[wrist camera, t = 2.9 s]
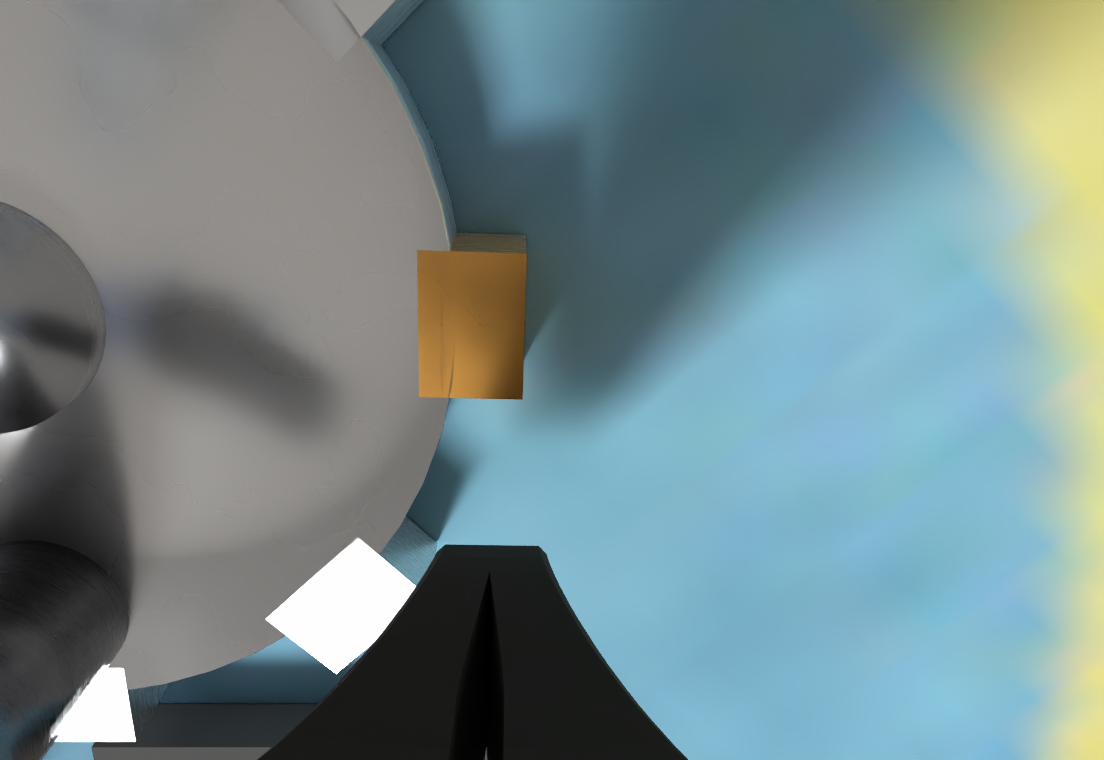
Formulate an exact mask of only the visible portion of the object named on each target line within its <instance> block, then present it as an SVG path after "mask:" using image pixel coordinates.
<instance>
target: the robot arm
mask: <svg viewBox="0 0 1104 760" xmlns="http://www.w3.org/2000/svg"><path fill="white" fill-rule="evenodd" d="M486 748H487V760H688V759H687V758H686V757H685V756H684V755H683V754H682V753H681V752H680V751H679V750H678V749H677V748H676V747H675V746H674V744H673V743H672V742H671V741H670V740H669V739H668V738H667V737H666V736H665V735H664V733H663V732H662V731H661V730H660V729H659V728H658V727H657V726H656V725H655V723H654V722H653V721H652V720H651V719H650V718H649V717H648V715H647V714H646V713H645V712H644V711H643V709H642V708H641V707H640V706H639V705H638V703H637V702H636V701H635V700H634V698H633V697H632V696H631V695H630V693H629V692H628V691H627V689H626V688H625V687H624V685H623V684H622V683H621V681H620V680H619V679H618V677H617V676H616V675H615V673H614V672H613V671H612V669H611V668H610V667H609V665H608V664H607V662H606V661H605V660H604V658H603V657H602V655H601V654H600V652H599V651H598V649H597V648H596V647H595V645H594V643H593V642H592V640H591V639H590V637H589V635H588V634H587V632H586V631H585V629H584V628H583V626H582V624H581V623H580V621H579V620H578V618H577V616H576V615H575V613H574V611H573V610H572V608H571V606H570V604H569V603H568V601H567V599H566V597H565V595H564V593H563V591H562V589H561V588H560V586H559V584H558V581H557V579H556V577H555V575H554V573H553V571H552V568H551V566H550V563H549V561H548V558H547V554H546V553H545V552H544V551H543V550H542V549H541V548H540V547H539V546H500V545H444V546H443V547H442V548H441V549H440V550H439V551H438V552H437V553H436V554H435V556H434V558H433V560H432V562H431V564H430V565H429V567H428V569H427V570H426V572H425V573H424V575H423V577H422V578H421V580H420V581H419V583H418V584H417V586H416V587H415V589H414V590H413V591H412V593H411V594H410V596H409V597H408V599H407V600H406V602H405V603H404V604H403V606H402V607H401V608H400V609H399V611H398V612H397V613H396V615H395V616H394V617H393V619H392V620H391V621H390V623H389V624H388V625H387V626H386V628H385V629H384V630H383V632H382V633H381V634H380V636H379V637H378V638H377V639H376V640H375V642H374V643H373V644H372V645H371V646H370V648H369V649H368V650H367V651H366V652H365V653H364V654H363V656H362V657H361V658H360V659H359V660H358V661H357V662H356V663H355V665H354V666H353V667H352V668H351V669H350V670H349V671H348V673H347V674H346V675H345V676H344V677H343V678H342V679H341V680H340V682H339V683H338V684H337V685H336V686H335V687H334V688H333V689H332V690H331V691H330V692H329V693H328V694H327V695H326V696H325V697H324V698H323V699H322V700H321V701H320V702H319V703H318V704H317V705H316V706H315V707H314V708H313V709H312V710H311V711H310V712H309V713H308V714H307V715H306V716H305V717H304V718H303V719H302V720H301V721H300V722H299V723H298V724H297V725H296V726H295V727H293V728H292V729H291V730H290V731H289V732H288V733H287V734H286V735H285V736H284V737H283V738H282V739H281V740H279V741H278V742H277V743H276V744H275V745H274V746H273V747H271V748H270V749H269V750H268V751H267V752H266V753H264V754H263V755H262V756H261V757H260V758H258V759H257V760H485V754H486Z"/></svg>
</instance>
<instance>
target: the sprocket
mask: <svg viewBox="0 0 1104 760" xmlns="http://www.w3.org/2000/svg"><path fill="white" fill-rule="evenodd" d="M422 1H423V0H0V760H42V759H43V757H44V756H45V754H46V753H47V752H48V750H49V749H50V747H51V746H52V745H53V743H54V742H136V740H137V738H138V737H139V735H140V733H141V732H142V730H143V728H144V726H145V725H146V723H147V721H148V720H149V718H150V716H151V715H152V713H153V711H154V709H155V708H156V706H157V704H158V703H159V701H160V699H161V698H162V696H163V694H164V693H165V691H166V689H167V687H168V686H169V684H170V682H174V681H177V680H181V679H184V678H188V677H192V676H195V675H199V674H203V673H206V672H210V671H213V670H215V669H218V668H220V667H222V666H225V665H227V664H230V663H232V662H235V661H237V660H239V659H242V658H244V657H247V656H249V655H252V654H254V653H256V652H258V651H260V650H262V649H263V648H265V647H267V646H269V645H270V644H272V643H274V642H276V641H278V640H279V639H281V638H283V637H285V636H286V635H287V636H288V637H289V638H291V639H292V640H293V641H294V642H296V643H297V644H298V645H300V646H301V647H302V648H303V649H305V650H306V651H307V652H309V653H310V654H311V655H312V656H314V657H315V658H316V659H318V660H319V661H320V662H321V663H323V664H324V665H325V666H327V667H328V668H329V669H330V670H332V671H333V672H334V673H336V674H337V673H338V672H339V671H340V670H341V669H343V668H344V667H345V666H346V665H347V664H349V663H350V662H351V661H352V660H353V659H354V658H356V657H357V656H358V655H359V654H360V653H362V652H363V651H364V650H365V649H366V648H367V647H369V646H370V645H371V644H372V643H373V642H375V640H376V639H377V638H378V637H379V636H380V634H381V633H382V632H383V630H384V629H385V628H386V626H387V625H388V624H389V623H390V621H391V620H392V619H393V617H394V616H395V615H396V613H397V612H398V611H399V609H400V608H401V607H402V606H403V604H404V603H405V602H406V600H407V599H408V597H409V596H410V594H411V593H412V591H413V590H414V589H415V587H416V586H417V584H418V583H419V581H420V580H421V578H422V577H423V575H424V573H425V572H426V570H427V569H428V567H429V565H430V564H431V562H432V560H433V558H434V556H435V553H436V547H437V543H436V542H435V541H434V540H433V539H431V538H430V537H429V536H428V535H427V534H426V533H425V532H424V531H422V530H421V529H420V528H419V527H418V526H417V525H416V524H414V523H413V522H412V521H411V520H410V519H409V518H408V517H406V514H407V512H408V511H409V509H410V507H411V505H412V503H413V501H414V500H415V498H416V496H417V494H418V492H419V490H420V489H421V487H422V485H423V483H424V480H425V478H426V475H427V472H428V469H429V467H430V464H431V461H432V459H433V456H434V453H435V451H436V448H437V445H438V442H439V440H440V437H441V434H442V429H443V425H444V420H445V416H446V411H447V406H448V402H449V398H481V399H522V396H523V365H524V333H525V301H526V270H527V247H526V235H517V234H488V233H460V232H457V229H456V224H455V219H454V214H453V209H452V204H451V199H450V194H449V190H448V187H447V184H446V181H445V178H444V175H443V172H442V169H441V166H440V163H439V160H438V157H437V154H436V151H435V148H434V145H433V142H432V139H431V137H430V135H429V133H428V130H427V128H426V126H425V124H424V122H423V120H422V118H421V116H420V114H419V111H418V109H417V107H416V105H415V103H414V101H413V99H412V97H411V95H410V92H409V90H408V88H407V86H406V84H405V82H404V81H403V79H402V78H401V76H400V74H399V73H398V71H397V70H396V68H395V67H394V65H393V63H392V62H391V60H390V59H389V57H388V55H387V54H386V52H385V51H384V49H383V48H382V46H381V45H382V44H383V43H384V42H385V40H386V39H387V38H388V37H389V36H390V35H391V34H392V33H393V32H394V31H395V30H396V29H397V28H398V27H399V26H400V25H401V24H402V23H403V22H404V20H405V19H406V18H407V17H408V16H409V15H410V14H411V13H412V12H413V11H414V10H415V9H416V8H417V7H418V6H419V5H420V4H421V3H422Z"/></svg>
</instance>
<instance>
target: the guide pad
mask: <svg viewBox="0 0 1104 760" xmlns="http://www.w3.org/2000/svg"><path fill="white" fill-rule="evenodd" d="M316 705H317V704H157V706H156V708H155V709H154V711H153V713H152V715H151V716H150V718H149V720H148V721H147V723H146V725H145V726H144V728H143V730H142V732H141V733H140V735H139V737H138V738H137V740H136V742H95V743H94V745H93V746H92V752H93V757H94V760H257V759H258V758H260V757H261V756H262V755H263V754H264V753H266V752H267V751H268V750H269V749H270V748H271V747H273V746H274V745H275V744H276V743H277V742H278V741H279V740H281V739H282V738H283V737H284V736H285V735H286V734H287V733H288V732H289V731H290V730H291V729H292V728H293V727H295V726H296V725H297V724H298V723H299V722H300V721H301V720H302V719H303V718H304V717H305V716H306V715H307V714H308V713H309V712H310V711H311V710H312V709H313V708H314V707H315V706H316ZM485 760H487V748H486V754H485Z"/></svg>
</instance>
